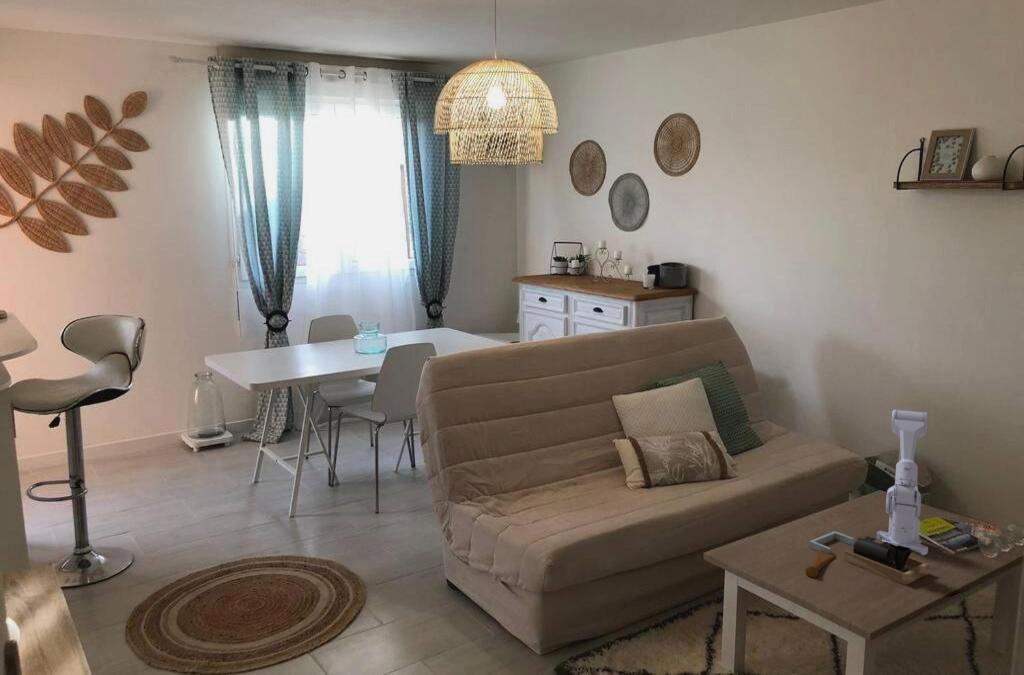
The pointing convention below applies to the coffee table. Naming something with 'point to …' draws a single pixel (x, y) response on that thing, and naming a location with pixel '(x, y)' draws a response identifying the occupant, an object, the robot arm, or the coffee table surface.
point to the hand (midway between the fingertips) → (899, 569)
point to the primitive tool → (819, 563)
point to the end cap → (874, 550)
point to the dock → (821, 540)
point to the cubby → (905, 578)
